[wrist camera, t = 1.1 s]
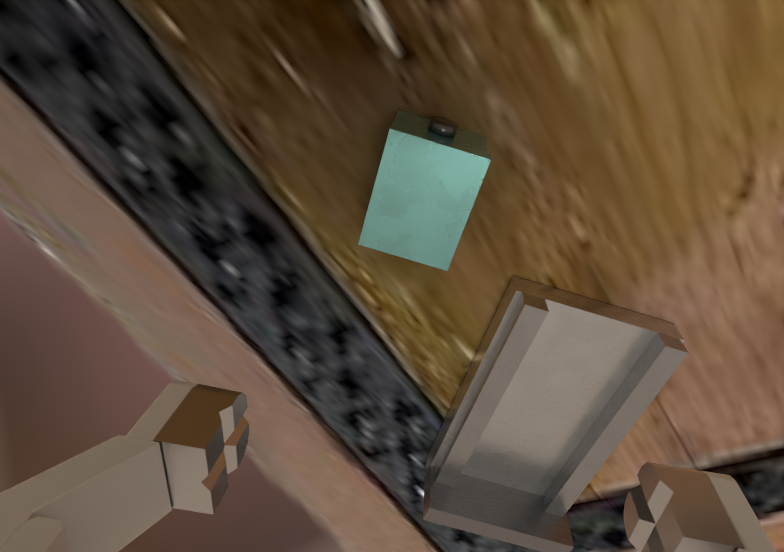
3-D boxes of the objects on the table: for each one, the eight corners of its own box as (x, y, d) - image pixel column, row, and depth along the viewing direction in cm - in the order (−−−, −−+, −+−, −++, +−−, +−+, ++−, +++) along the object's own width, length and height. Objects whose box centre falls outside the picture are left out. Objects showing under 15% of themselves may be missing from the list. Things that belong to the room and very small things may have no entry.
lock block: (370, 211, 33) (358, 244, 29) (401, 98, 29) (392, 117, 25) (447, 235, 33) (447, 270, 29) (488, 126, 30) (495, 148, 25)
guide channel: (426, 458, 44) (423, 519, 39) (513, 275, 34) (524, 325, 29) (551, 492, 45) (564, 557, 40) (673, 323, 35) (712, 380, 30)
